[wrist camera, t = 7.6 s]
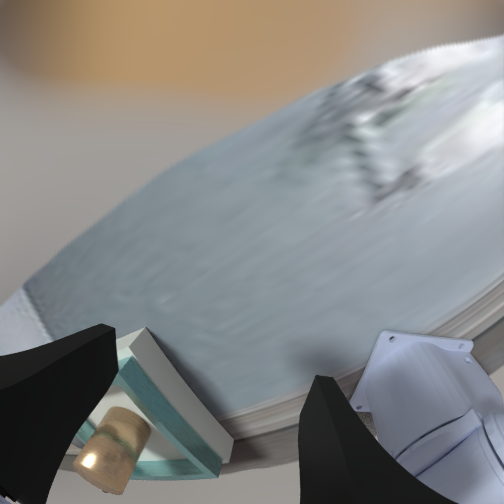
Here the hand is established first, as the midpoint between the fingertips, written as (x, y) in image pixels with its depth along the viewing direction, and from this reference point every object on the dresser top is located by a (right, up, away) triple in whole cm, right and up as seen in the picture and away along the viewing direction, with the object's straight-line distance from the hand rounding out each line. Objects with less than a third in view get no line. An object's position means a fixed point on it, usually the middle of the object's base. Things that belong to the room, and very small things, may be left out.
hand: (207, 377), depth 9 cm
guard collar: (-10, -11, +12) cm, 19 cm away
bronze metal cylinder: (-9, -11, +12) cm, 19 cm away
